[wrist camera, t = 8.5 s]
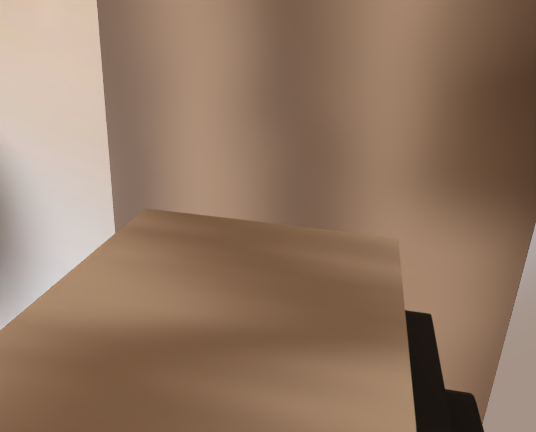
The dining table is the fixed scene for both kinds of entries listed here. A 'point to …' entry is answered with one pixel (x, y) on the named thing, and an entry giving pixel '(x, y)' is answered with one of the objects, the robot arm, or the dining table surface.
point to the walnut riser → (343, 137)
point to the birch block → (215, 334)
